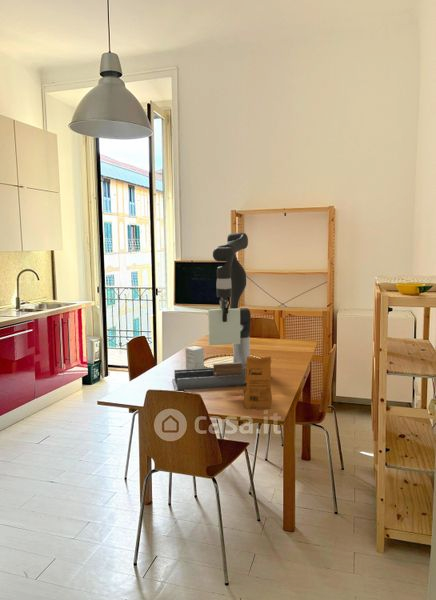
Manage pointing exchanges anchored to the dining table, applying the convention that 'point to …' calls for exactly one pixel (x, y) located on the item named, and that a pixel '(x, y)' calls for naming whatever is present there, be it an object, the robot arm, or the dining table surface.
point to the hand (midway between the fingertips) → (224, 321)
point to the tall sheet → (224, 327)
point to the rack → (205, 379)
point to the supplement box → (194, 357)
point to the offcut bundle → (227, 369)
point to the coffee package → (258, 383)
